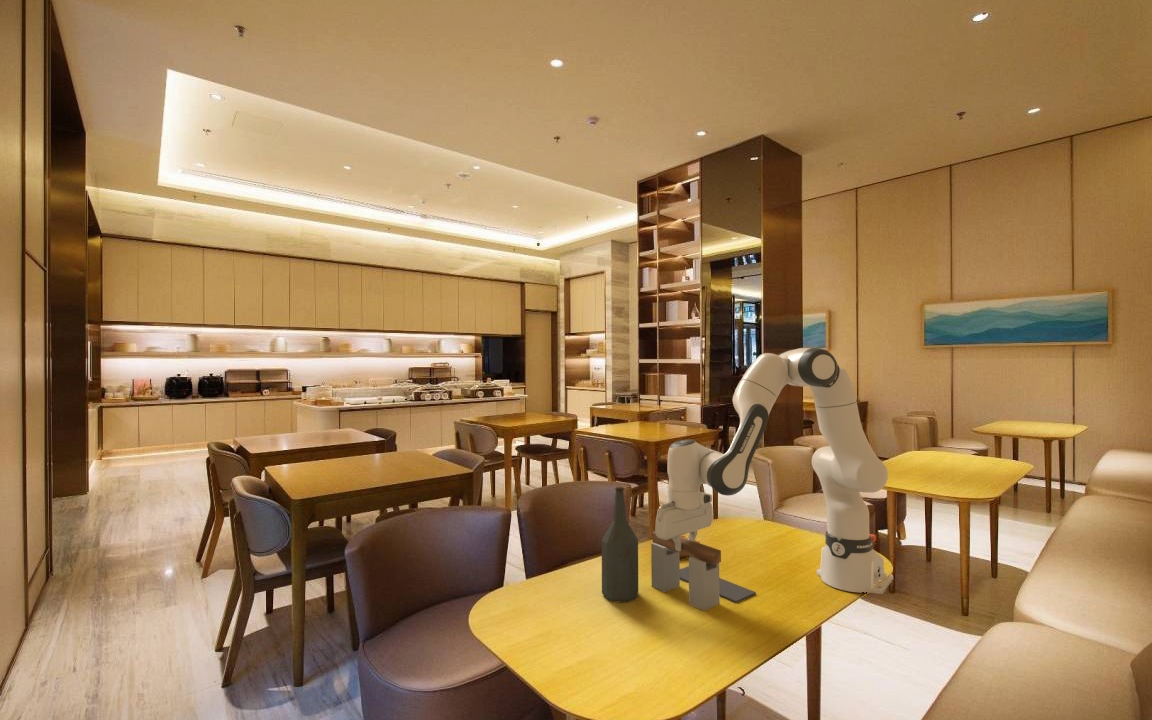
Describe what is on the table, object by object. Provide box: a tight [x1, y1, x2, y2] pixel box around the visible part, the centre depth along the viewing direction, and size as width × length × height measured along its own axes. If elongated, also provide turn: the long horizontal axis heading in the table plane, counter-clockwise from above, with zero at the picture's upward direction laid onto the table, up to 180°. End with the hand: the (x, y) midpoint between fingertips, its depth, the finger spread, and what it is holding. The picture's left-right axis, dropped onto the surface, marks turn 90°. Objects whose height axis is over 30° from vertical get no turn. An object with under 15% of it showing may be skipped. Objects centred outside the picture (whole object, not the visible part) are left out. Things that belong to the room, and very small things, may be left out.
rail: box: [651, 531, 722, 565], centre depth 146 cm, size 3×22×3 cm, turn 37°
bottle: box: [601, 486, 639, 603], centre depth 146 cm, size 10×10×30 cm
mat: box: [680, 565, 757, 604], centre depth 152 cm, size 9×24×1 cm, turn 37°
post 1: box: [650, 542, 681, 593], centre depth 151 cm, size 6×5×12 cm
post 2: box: [688, 556, 721, 612], centre depth 140 cm, size 6×5×12 cm
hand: (685, 548), depth 146 cm, fingers closed on rail, 3 cm apart
